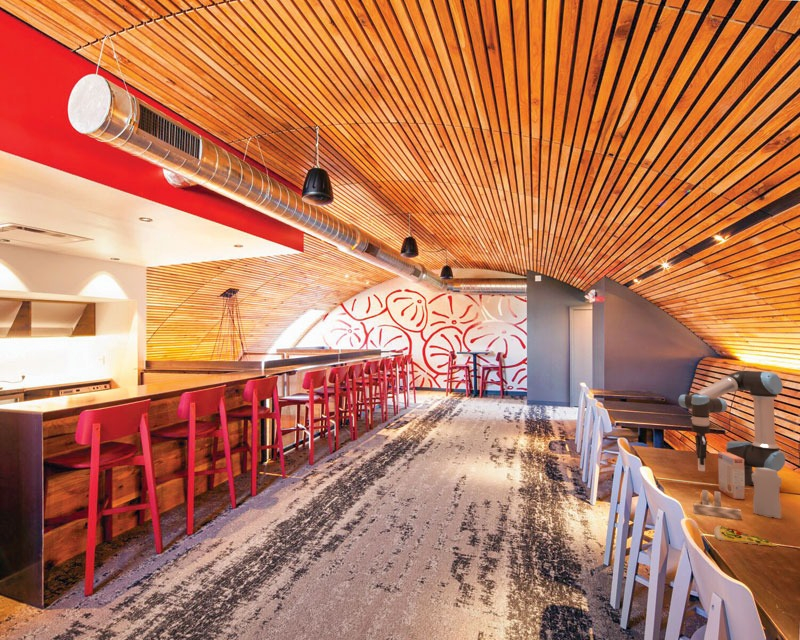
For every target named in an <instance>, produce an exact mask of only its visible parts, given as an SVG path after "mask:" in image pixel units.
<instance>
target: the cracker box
mask: <svg viewBox="0 0 800 640" xmlns="http://www.w3.org/2000/svg"><path fill="white" fill-rule="evenodd" d="M717 456H718V459H717V460H718V463H717V464H718V465H717V466H718V491H719V492H721V493H722V494H723V493H724V494H725V495H726V496H728V497H730V498H731V499H734V500H743V499H744V501H745V500H746V493H745V492H746V487H745V486H746V485H745V475H744V459H743V458H740V457H738V456H736V455H734V454H731V453H728V452H727V451H726V452H725V451H718V453H717Z"/></svg>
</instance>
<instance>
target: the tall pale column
mask: <svg viewBox="0 0 800 640" xmlns="http://www.w3.org/2000/svg"><path fill="white" fill-rule="evenodd" d="M752 481H753V483H754V484H753V485H754V486H753V494H754V495H753V498H752V501H753V503H752V504H753V507H752V508H753V514H754V513H755V515H757V514H759V516H762V515H763V516H762V517H765V516H766V518H772V517H774V518H773V519H779V520H780V519H782V503H781V500H780V490H781V486H782V477H780V476H779V474H778V472H777V471H776V470H772V469H769V468H755V467H754V471H753V473H752Z"/></svg>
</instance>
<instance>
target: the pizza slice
mask: <svg viewBox="0 0 800 640" xmlns="http://www.w3.org/2000/svg"><path fill="white" fill-rule="evenodd" d="M714 535H715V536H714ZM713 536H714V538H715V537H716V538H717V539H719V540H729V541H734V542H739V543H738V544H743V543H748V544H747V545H752V544H758V545H757V546H760V545H769V546H777V547H776V548H779V545H777V544H775V543H773V542H772V541H769V540H768V539H763V538H760V537H759V536H755V535H749V534H748V533H744V532H742V531H739V530H738V529H734V528H731V527H728V526H722V525H720V524H719V525H716V527H715V528H714V529H713ZM716 538H715V539H716ZM717 539H716V540H717ZM719 540H718V541H719ZM734 542H733V543H734ZM769 546H768V547H769Z"/></svg>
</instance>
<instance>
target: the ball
mask: <svg viewBox="0 0 800 640" xmlns="http://www.w3.org/2000/svg"><path fill="white" fill-rule="evenodd" d="M699 500H700V501H701V502H702V491H701V492H700V494H699ZM708 502H710V503H712V504H713V503H715V497H714V494H712V493H711V492H710V491H708Z"/></svg>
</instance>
